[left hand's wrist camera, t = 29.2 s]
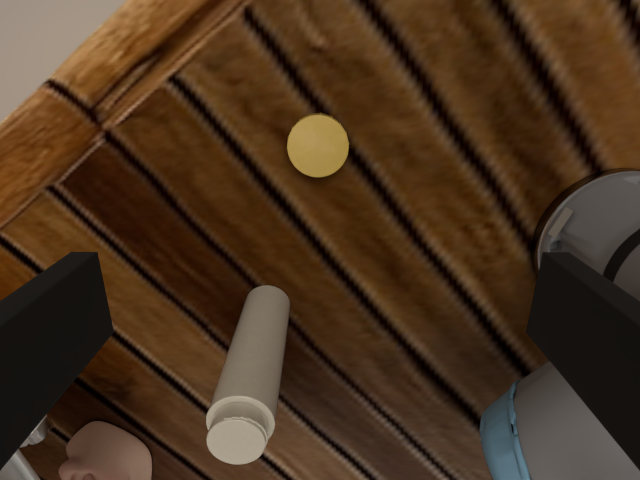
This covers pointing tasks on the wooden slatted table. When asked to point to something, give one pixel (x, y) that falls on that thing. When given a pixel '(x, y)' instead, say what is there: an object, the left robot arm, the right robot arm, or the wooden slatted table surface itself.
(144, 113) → the wooden slatted table surface
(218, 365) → the wooden slatted table surface
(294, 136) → the lid
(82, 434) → the anatomical model
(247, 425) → the beige cylinder
